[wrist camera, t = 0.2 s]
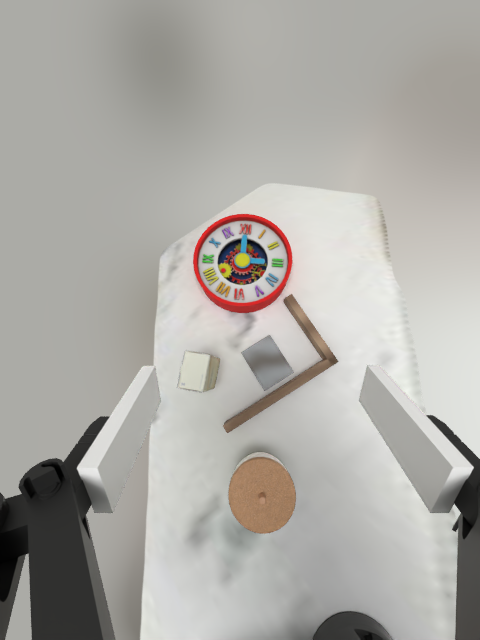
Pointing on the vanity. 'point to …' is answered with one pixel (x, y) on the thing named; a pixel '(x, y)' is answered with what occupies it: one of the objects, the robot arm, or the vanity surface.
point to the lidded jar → (261, 493)
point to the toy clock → (243, 262)
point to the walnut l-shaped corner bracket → (280, 366)
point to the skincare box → (198, 371)
